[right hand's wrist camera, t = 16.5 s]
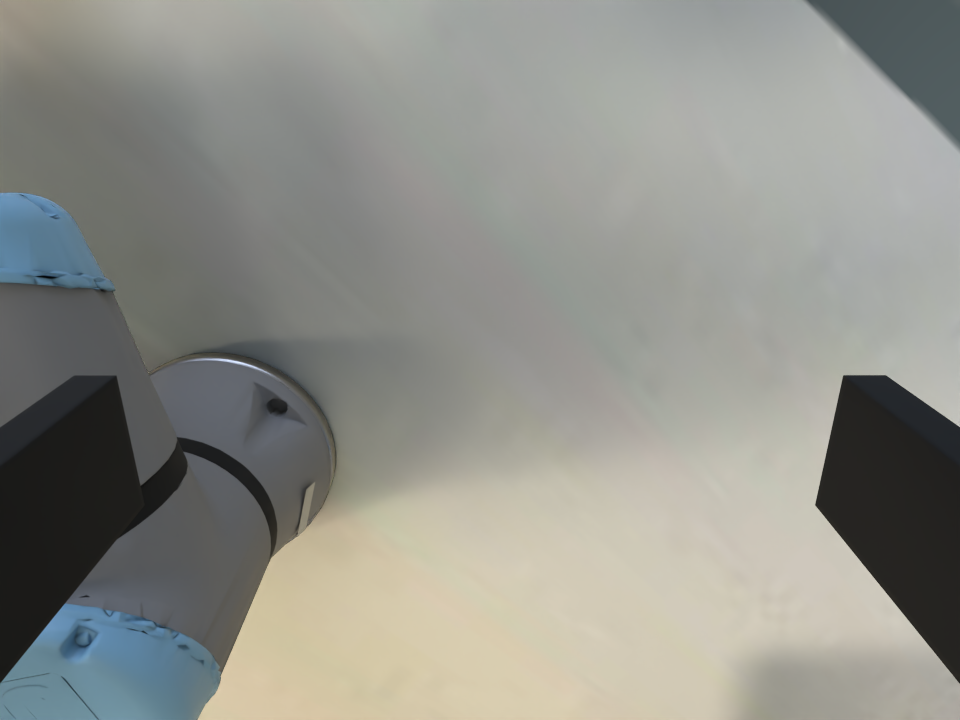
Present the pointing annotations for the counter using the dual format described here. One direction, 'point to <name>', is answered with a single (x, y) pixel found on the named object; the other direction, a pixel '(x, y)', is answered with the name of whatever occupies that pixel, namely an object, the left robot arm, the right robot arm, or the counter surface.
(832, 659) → the counter surface
